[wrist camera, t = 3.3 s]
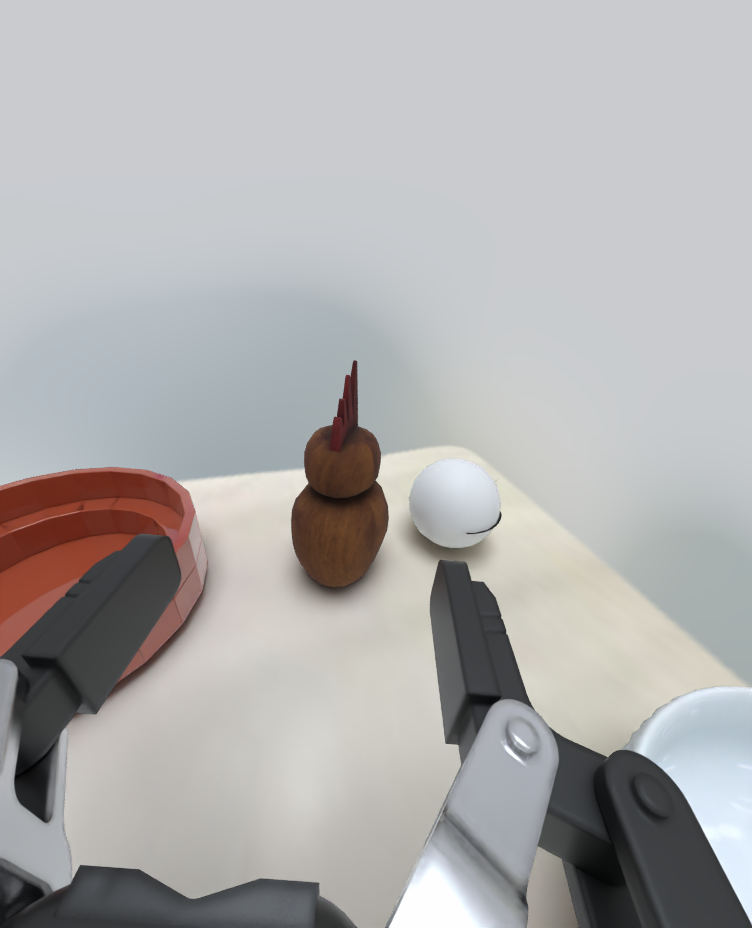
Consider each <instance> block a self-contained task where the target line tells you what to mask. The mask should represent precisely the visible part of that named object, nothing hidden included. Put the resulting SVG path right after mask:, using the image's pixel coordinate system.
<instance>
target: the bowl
mask: <svg viewBox="0 0 752 928" xmlns="http://www.w3.org/2000/svg"><path fill="white" fill-rule="evenodd" d="M138 534H150V535H162V536H168V537H170V538H171V540H172V543H173V546H174V550H175V553H176V556H177V559H178V563H179V566H180V569H181V582H180V586H179V588H178V591H177V593H176V594H175V596H174V597H173V599H172V600H171V602H170V603H169V605H168V606H167V608H166V609H165V611H164V612H163V614H162V615H161V617H160V618H159V620H158V621H157V623H156V624H155V626H154V627H153V629H152V630H151V632H150V633H149V635H148V637H147V638H146V640H145V641H144V643H143V644H142V646H141V647H140V649H139V650H138V652H137V653H136V655H135V656H134V658H133V659H132V661H131V662H130V664H129V665H128V667H127V668H126V670H125V671H124V673H123V674H122V676H121V677H120V679H119V680H118V682H119V681H120V680H122V679H123V678H125V677H126V676H127V675H129V674H130V673H132V672H133V671H135V670H136V669H137V668H139V667H140V666H142V665H143V664H144V663H145V662H147V661H148V660H149V659H150V658H151V657H152V655H153V654H154V653H155V652H156V651H157V650H158V649H159V648H160V647H161V646H162V645H163V644H164V643H165V642H166V641H167V640H168V639H169V638H170V637H171V636H172V635H173V634H174V633H175V632H176V631H177V630H178V629H179V628H180V627H181V625H182V624H183V623H184V621H185V620H186V618H187V616H188V615H189V613H190V611H191V609H192V608H193V606H194V604H195V602H196V601H197V599H198V597H199V596H200V594H201V592H202V590H203V585H204V580H205V574H206V569H207V564H208V563H207V558H206V553H205V549H204V545H203V541H202V537H201V532H200V528H199V524H198V520H197V516H196V512H195V508H194V505H193V502H192V499H191V496H190V493H189V492H188V491H187V490H186V489H185V488H184V487H182V486H181V485H180V484H179V483H177V482H176V481H175V480H174V479H172V478H170V477H167V476H164V475H161V474H157V473H154V472H151V471H148V470H142V469H131V468H119V467H106V468H89V469H75V470H69V471H63V472H58V473H52V474H47V475H41V476H36V477H31V478H26V479H23V480H19V481H16V482H12V483H9V484H5V485H2V486H0V657H1V656H2V655H3V654H4V653H5V652H6V651H8V650H9V649H10V648H11V647H12V646H13V645H14V644H15V643H16V642H17V641H18V640H19V639H20V638H21V637H22V636H23V635H24V634H25V633H26V632H27V631H28V630H29V629H30V628H31V627H32V626H33V625H34V624H35V623H36V622H37V621H38V620H39V619H40V618H41V617H42V616H43V615H44V614H45V613H46V612H47V611H48V610H49V609H50V608H51V607H52V606H53V605H54V604H55V603H56V602H57V601H58V600H59V599H60V598H61V597H64V596H65V593H66V592H67V591H68V590H69V589H70V588H71V587H72V586H73V585H74V584H75V583H78V582H79V579H80V578H81V577H82V576H83V575H84V574H85V573H86V572H87V571H88V570H89V569H90V568H91V567H92V566H93V565H94V564H95V563H97V562H98V561H100V560H102V559H103V558H105V557H106V556H108V555H110V554H111V553H113V552H114V551H116V550H117V551H121V550H122V549H123V548H124V547H125V546H126V545H127V544H128V543H129V542H130V541H131V540H132V539H133V538H134V537H135V536H136V535H138Z"/></svg>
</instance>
